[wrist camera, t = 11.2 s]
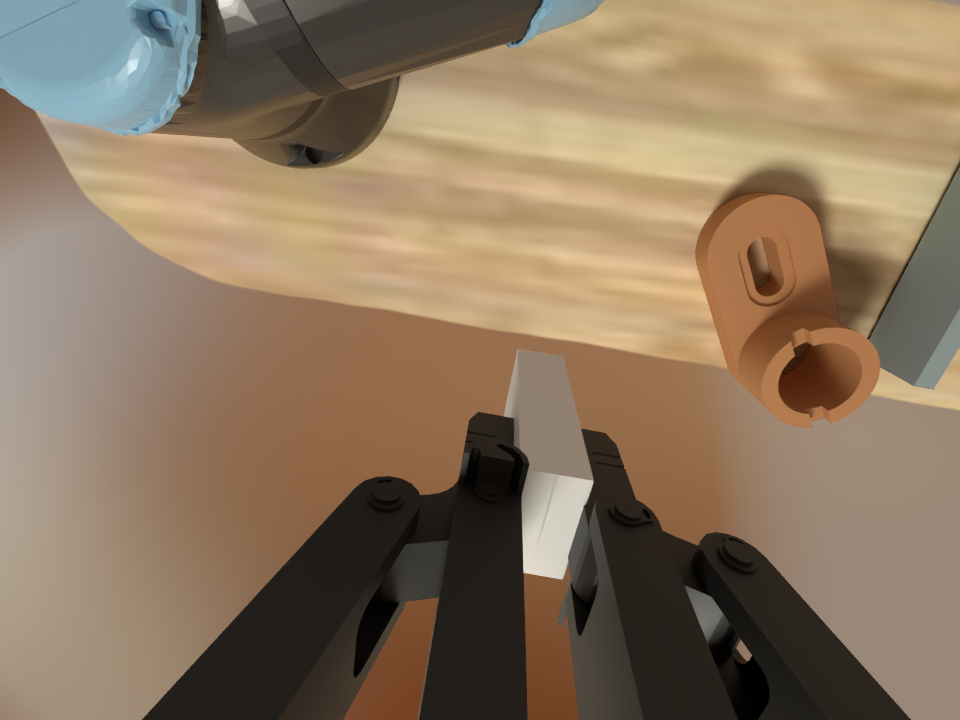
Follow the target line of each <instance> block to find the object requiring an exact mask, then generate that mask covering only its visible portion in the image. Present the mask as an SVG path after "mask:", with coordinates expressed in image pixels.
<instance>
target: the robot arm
mask: <svg viewBox="0 0 960 720" xmlns="http://www.w3.org/2000/svg"><path fill="white" fill-rule="evenodd" d="M602 2H603V0H0V88H3V89H5V90H6V91H7V92H8V93H9V94H10V95H12V96H15V97H16V98H18V99H19V100H20V101H21V102H22V103H23V104H25V105H26V106H28V107H30V108H32V109H34V110H36V111H38V112H40V113H43V114H45V115H48V116H50V117H53V118H56V119H59V120H63V121H66V122H70V123H75V124H81V125H86V126H91V127H96V128H100V129H102V130H104V131H107V132H113V133H115V134H118V135H129V134H132V135H143V134H147V133H159V134H173V135H188V136H202V137H216V138H230V139H233V140H234V141H235V142H237V143H238V144H239V145H240V146H242V147H243V148H245V149H246V150H248V151H249V152H251V153H252V154H254V155H256V156H258V157H260V158H262V159H264V160H267V161H269V162H272V163H275V164H278V165H282V166H286V167H291V168H303V169H306V168H324V167H330V166H334V165H337V164H340V163H343V162H345V161H347V160H349V159H351V158H353V157H355V156H356V155H358V154H359V153H361V152H362V151H363V150H364V149H365V148H367V147H368V146H369V145H370V144H371V143H372V142H373V141H374V139H375V138H376V137H377V136H378V134H379V133H380V131H381V130H382V128H383V127H384V125H385V123H386V121H387V119H388V117H389V115H390V112H391V110H392V107H393V104H394V101H395V96H396V92H397V86H398V78H399V76H400V75H403V74H407V73H410V72H414V71H417V70H420V69H424V68H427V67H430V66H434V65H437V64H440V63H444V62H447V61H450V60H454V59H457V58H461V57H464V56H467V55H471V54H474V53H477V52H481V51H484V50H487V49H491V48H494V47H497V46H501V45H504V44H506V45H507V47H510V48H516V47H520V46H522V45H524V44H525V43H526V42H528V41H530V40H531V39H533V38H534V37H535V35H538V34H541V33H544V32H547V31H550V30H553V29H556V28H558V27H561V26H564V25H567V24H570V23H573V22H576V21H578V20H581V19H583V18H585V17H586V16H588V15H590V14H591V13H592V12H594V11H595V10H596V9H597V7H598V6H599V5H600V4H601V3H602ZM620 457H621V456H620V454H619V451H618V448H617V445H616V444H615V443H614V442H613V441H612V440H611V439H610V438H609V437H608V435H606V433H602V432H597V431H591V430H586V429H581V427H580V423H579V420H578V415H577V411H576V407H575V403H574V399H573V396H572V391H571V387H570V383H569V379H568V376H567V372H566V367H565V363H564V360H563V356H557V355H552V354H546V353H540V352H535V351H529V350H523V349H518V350H517V355H516V360H515V365H514V370H513V374H512V379H511V384H510V388H509V393H508V398H507V402H506V407H505V412H504V416H499V415H493V414H487V413H481V412H478V413H477V414H475V415H474V416H473V417H472V418H471V419H470V420H469V424H468V430H467V436H466V441H465V447H464V453H463V458H462V464H461V470H460V475H459V479H458V481H457V483H456V484H455V485H454V486H453V487H452V488H450V489H448V490H447V491H444V492H441V493H438V494H431V495H420V494H419V491H418V490H417V489H416V488H415V487H414V486H413V485H412V484H411V483H409V482H407V481H405V480H403V479H400V478H395V477H390V476H386V477H375V478H372V479H369V480H366V481H364V482H362V483H361V484H360V485H358V486H357V487H356V488H355V489H354V490H353V491H352V492H351V493H350V494H349V495H348V496H347V497H346V499H345V500H344V501H343V502H342V503H341V504H340V505H339V506H338V507H337V508H336V510H334V512H333V513H332V514H331V515H330V516H329V517H328V518H327V519H326V520H325V521H324V523H323V524H322V525H321V526H320V527H319V528H318V529H317V530H316V531H315V532H314V533H313V535H312V536H311V537H310V538H309V539H308V540H307V541H306V542H305V543H304V544H303V545H302V546H301V548H300V549H299V550H298V551H297V552H296V553H295V554H294V555H293V556H292V557H291V559H290V560H289V561H288V562H287V563H286V564H285V565H284V566H283V567H282V568H281V569H280V570H279V572H277V574H276V575H275V576H274V577H273V578H272V579H271V580H270V581H269V582H268V583H267V585H265V587H264V588H263V589H262V590H261V591H260V592H259V593H258V594H257V595H256V596H255V598H254V599H253V600H252V601H251V602H250V603H249V604H248V605H247V606H246V607H245V608H244V609H243V611H242V612H241V613H240V614H239V615H238V616H237V617H236V618H235V619H234V620H233V621H232V622H231V624H230V625H229V626H228V627H227V628H226V629H225V630H224V631H223V632H222V633H221V634H220V635H219V637H218V638H217V639H216V640H215V641H214V642H213V643H212V644H211V645H210V646H209V647H208V649H207V650H206V651H205V652H204V653H203V654H202V655H201V656H200V657H199V658H198V659H197V660H196V662H195V663H194V664H193V665H192V666H191V667H190V668H189V669H188V670H187V671H186V672H185V674H184V675H183V676H182V677H181V678H180V679H179V680H178V681H177V682H176V683H175V684H174V685H173V687H172V688H171V689H170V690H169V691H168V692H167V693H166V694H165V695H164V696H163V697H162V698H161V700H160V701H159V702H158V703H157V704H156V705H155V706H154V707H153V708H152V709H151V710H150V712H149V713H148V714H147V715H146V716H145V717H144V718H143V719H142V720H343V718H344V717H345V715H346V713H347V712H348V709H349V708H350V706H351V704H352V702H353V701H354V699H355V697H356V695H357V693H358V691H359V690H360V688H361V686H362V684H363V682H364V680H365V679H366V677H367V675H368V673H369V671H370V669H371V668H372V666H373V664H374V662H375V660H376V658H377V657H378V655H379V653H380V651H381V649H382V647H383V646H384V644H385V642H386V640H387V638H388V636H389V635H390V633H391V631H392V629H393V627H394V625H395V624H396V622H397V620H398V618H399V616H400V614H401V613H402V611H403V609H404V607H405V603H406V602H407V601H415V600H422V599H430V598H438V602H437V608H436V614H435V620H434V626H433V632H432V638H431V644H430V650H429V655H428V661H427V667H426V673H425V679H424V685H423V691H422V697H421V703H420V709H419V714H418V720H527V686H526V685H527V683H526V646H525V610H524V573H529V574H534V575H540V576H546V577H552V578H557V579H563V577H564V574H565V571H566V567H567V564H568V561H569V568H570V576H571V579H570V582H569V585H568V588H567V591H566V595H565V597H564V600H563V604H562V607H561V610H560V613H559V616H558V623H557V624H558V625H560V626H562V625H563V622H564V619H565V617H566V615H567V618H568V627H569V636H570V644H571V653H572V661H573V671H574V680H575V688H576V697H577V706H578V715H579V720H911V719H910V718H909V717H908V716H907V715H906V714H905V713H904V712H903V710H902V709H901V708H900V707H899V706H898V705H897V704H896V703H895V701H894V700H893V699H892V698H891V697H890V696H889V695H888V694H887V692H886V691H884V689H883V688H882V687H881V686H880V685H879V684H878V682H877V681H876V680H875V679H874V678H873V677H872V676H871V675H870V674H869V672H868V671H867V670H866V669H865V668H864V667H863V666H862V665H861V663H860V662H859V661H858V660H857V659H856V658H855V657H854V656H853V654H851V652H850V651H849V650H848V649H847V648H846V647H845V646H844V645H843V643H842V642H841V641H840V640H839V639H838V638H837V637H836V635H834V633H833V632H832V631H831V630H830V629H829V628H828V627H827V625H825V623H824V622H823V621H822V620H821V619H820V618H819V617H818V615H817V614H816V613H815V612H814V611H813V610H812V609H811V608H810V607H809V605H808V604H807V603H806V602H805V601H804V600H803V599H802V598H801V596H800V595H799V594H798V593H797V592H796V591H795V590H794V589H793V588H792V586H791V585H790V584H789V583H788V582H787V581H786V580H785V578H784V577H783V576H781V574H780V573H779V572H778V571H777V570H776V568H775V567H774V566H773V565H772V564H771V563H770V562H769V561H768V559H767V558H766V557H765V556H764V555H762V554H761V553H760V552H759V551H758V550H757V549H756V548H754V547H753V546H751V545H750V544H748V543H746V542H744V541H743V540H742V539H739V538H737V537H735V536H731V535H729V534H724V533H717V532H714V533H709V534H706V535H705V536H704V537H703V538H702V539H701V541H700V544H699V545H698V546H697V545H695V544H692V543H690V542H687V541H685V540H682V539H680V538H677V537H675V536H673V535H671V534H668V533H666V532H664V531H663V530H662V528H661V525H660V523H659V520H658V519H657V517H656V516H655V514H654V513H653V512H652V511H651V510H650V509H649V508H648V507H646V505H644V504H643V503H641V502H639V501H638V500H636V498H635V495H634V492H633V490H632V487H631V484H630V482H629V479H628V476H627V473H626V470H625V469H624V465H623V462H622V459H620ZM740 640H742V641H743V643H744V644H745V646H746V647H747V648H748V650H749V651H750V653H751V654H752V657H751V658H750V660H749V661H746V660H745V659H744V658H743V657H742V656H741V655H740V653H739V652H738V650H737V649H736V647H737V645H738V643H739V642H740Z"/></svg>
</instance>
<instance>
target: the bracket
mask: <svg viewBox="0 0 960 720" xmlns="http://www.w3.org/2000/svg"><path fill="white" fill-rule="evenodd" d="M760 237H761V239H762V243H763V247H764V251H765V255H766V259H767V263H768V267H769V271H770V277H769V280H768V282H767V283H766V284H765V285H764V286H763V287H761V288H759V289H756V288H755V284H754V281H753V277H752V273H751V269H750V265H749V262H748V258H747V250H748V247H749V246H750V244H751V243H752V242H753V241H754V240H756V239H758V238H760ZM696 264H697V268H698V271H699V274H700V278H701V281H702V284H703V287H704V291H705V294H706V297H707V301H708V304H709V307H710V311H711V314H712V317H713V320H714V324H715V327H716V330H717V334H718V337H719V340H720V344H721V347H722V350H723V354H724V357H725V360H726V363H727V367H728V370H729V371H730V373H731V374H732V375H733V377H734V378H735V379H736V380H738V382H740V384H741V385H742V386H743V387H745V388H746V389H747V390H748V391H749V392H750V393H751V394H752V395H753V396H754V397H755V398H756V399H757V400H758V401H759V402H760V403H761V404H762V405H763V406H764V407H765V408H766V409H767V410H768V411H769V412H770V413H771V414H772V415H773V416H774V417H775V418H777V419H778V420H780V421H782V422H784V423H786V424H789V425H792V426H798V427H812V424H811V421H815V420H819V419H822V418H825V419H827V420H828V421H829V422H830V423H833V422H836V421H838V420H840V419H842V418H844V417H846V416H848V415H849V414H851V413H852V412H854V411H855V410H856V409H857V408H858V407H859V406H861V405H862V404H863V403H864V402H865V400H866V399H867V398H868V397H869V396H870V394H871V393H872V391H873V389H874V387H875V385H876V383H877V380H878V377H879V372H880V361H879V356H878V353H877V351H876V349H875V347H874V345H873V344H872V343H871V342H870V341H869V340H868V339H867V338H866V337H865V336H863V335H861V334H860V333H858V332H856V331H854V330H852V329H850V328H848V327H846V326H844V325H842V324H840V321H839V316H838V311H837V307H836V302H835V297H834V292H833V287H832V282H831V277H830V272H829V267H828V262H827V257H826V252H825V247H824V243H823V238H822V233H821V228H820V224H819V222H818V219H817V217H816V215H815V214H814V212H813V211H812V210H811V209H810V208H809V207H808V206H807V205H806V204H805V203H803V202H802V201H800V200H798V199H796V198H793V197H789V196H785V195H777V194H769V193H750V194H745V195H742V196H739V197H737V198H734V199H732V200H730V201H728V202H727V203H725V204H724V205H722V206H721V207H720V208H719V209H717V210H716V211H715V212H714V213H713V214H712V215H711V217H710V218H709V219H708V220H707V222H706V223H705V225H704V226H703V228H702V230H701V232H700V234H699V237H698V240H697V245H696ZM805 342H808V343H809V344H810V347H809V350H808V353H807V355H806V357H805V358H804V360H803V361H802V362H801V363H800V364H799V365H798V366H797V367H796V368H795V369H793V370H792V371H790V372H788V373H786V374H784V375H781V373H782V371H783V369H784V367H785V366H786V365H787V363H788V362H789V361H790V360H791V359H792V358H793V357H794V356H795V355H794V350H793V348H795V347H797V346H799V345H801V344H803V343H805ZM780 375H781V376H780Z"/></svg>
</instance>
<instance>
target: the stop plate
mask: <svg viewBox="0 0 960 720" xmlns="http://www.w3.org/2000/svg"><path fill="white" fill-rule="evenodd" d="M869 341H870V342H871V343H872V344H873V345H874V347H875V349H876V351H877V353H878V356H879V361H880V367H881V368H883V369H885V370H886V371H888V372H890V373H892V374H893V375H895V376H897V377H899V378H901V379H902V380H904V381H906V382H908V383H909V384H911V385H913V386H916V387H922V388H928V389H933V390H934V388H935V386H936V385H937V383H938V381H939V380H940V378H941V376H942V375H943V373H944V371H945V370H946V368H947V367H948V365H949V363H950V362H951V360H952V358H953V357H954V355H955V353H956V352H957V350H958V349H959V347H960V167H959V169H958V171H957V173H956V175H955V176H954V178H953V180H952V182H951V184H950V186H949V188H948V190H947V192H946V194H945V196H944V197H943V199H942V201H941V203H940V205H939V207H938V209H937V211H936V213H935V215H934V217H933V218H932V220H931V222H930V224H929V226H928V228H927V230H926V232H925V234H924V236H923V238H922V239H921V241H920V243H919V245H918V247H917V249H916V251H915V253H914V255H913V257H912V259H911V260H910V262H909V264H908V266H907V268H906V270H905V272H904V274H903V276H902V278H901V279H900V281H899V283H898V285H897V287H896V289H895V291H894V293H893V295H892V297H891V299H890V300H889V302H888V304H887V306H886V308H885V310H884V312H883V314H882V316H881V318H880V320H879V321H878V323H877V325H876V327H875V329H874V331H873V333H872V335H871V337H870V339H869Z"/></svg>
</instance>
